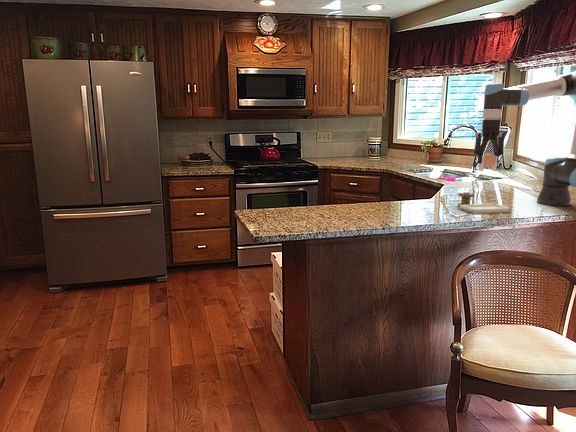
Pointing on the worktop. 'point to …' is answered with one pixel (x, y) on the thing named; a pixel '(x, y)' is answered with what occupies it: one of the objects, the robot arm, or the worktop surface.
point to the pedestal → (465, 198)
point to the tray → (484, 208)
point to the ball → (489, 160)
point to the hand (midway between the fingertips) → (487, 170)
